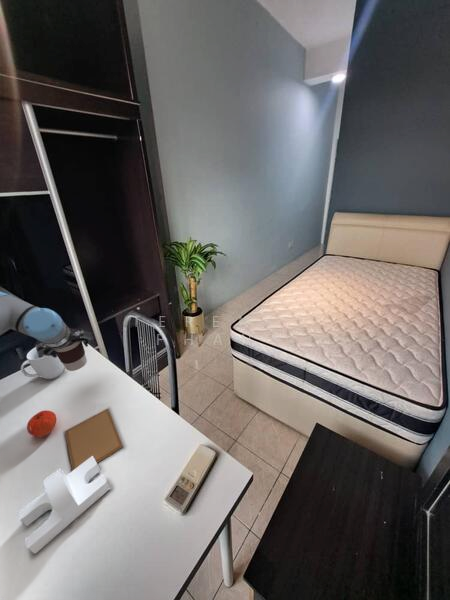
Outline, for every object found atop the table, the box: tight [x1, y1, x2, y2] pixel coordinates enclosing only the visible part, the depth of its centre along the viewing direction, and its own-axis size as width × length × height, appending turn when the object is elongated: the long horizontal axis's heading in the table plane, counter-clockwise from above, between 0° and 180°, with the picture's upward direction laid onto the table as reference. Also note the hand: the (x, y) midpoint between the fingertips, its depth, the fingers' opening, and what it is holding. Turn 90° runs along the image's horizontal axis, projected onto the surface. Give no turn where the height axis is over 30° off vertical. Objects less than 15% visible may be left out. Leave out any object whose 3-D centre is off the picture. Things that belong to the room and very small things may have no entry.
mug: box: [20, 346, 65, 380], centre depth 104 cm, size 15×11×13 cm
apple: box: [26, 410, 58, 438], centre depth 82 cm, size 8×8×8 cm
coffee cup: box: [54, 327, 88, 372], centre depth 91 cm, size 10×10×15 cm
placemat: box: [64, 408, 124, 471], centre depth 80 cm, size 18×14×1 cm
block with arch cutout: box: [18, 456, 111, 555], centre depth 62 cm, size 18×10×11 cm, turn 136°
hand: (70, 348), depth 94 cm, fingers closed on coffee cup, 10 cm apart
